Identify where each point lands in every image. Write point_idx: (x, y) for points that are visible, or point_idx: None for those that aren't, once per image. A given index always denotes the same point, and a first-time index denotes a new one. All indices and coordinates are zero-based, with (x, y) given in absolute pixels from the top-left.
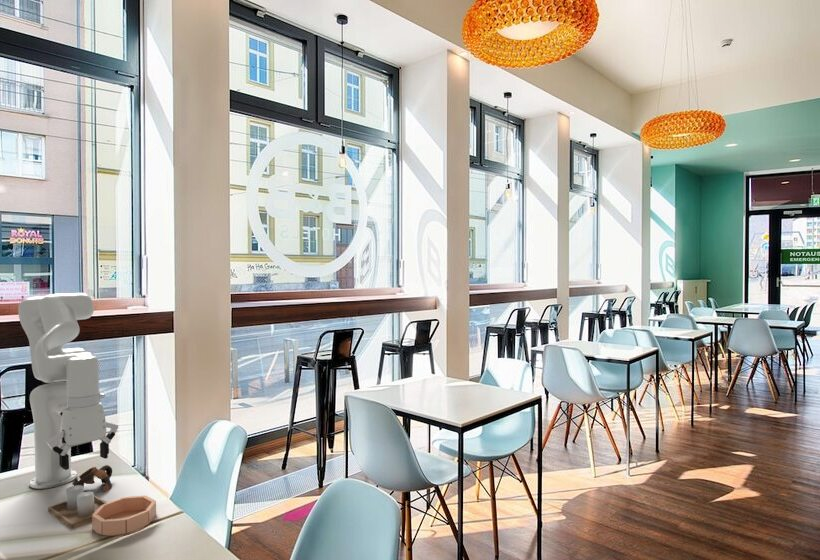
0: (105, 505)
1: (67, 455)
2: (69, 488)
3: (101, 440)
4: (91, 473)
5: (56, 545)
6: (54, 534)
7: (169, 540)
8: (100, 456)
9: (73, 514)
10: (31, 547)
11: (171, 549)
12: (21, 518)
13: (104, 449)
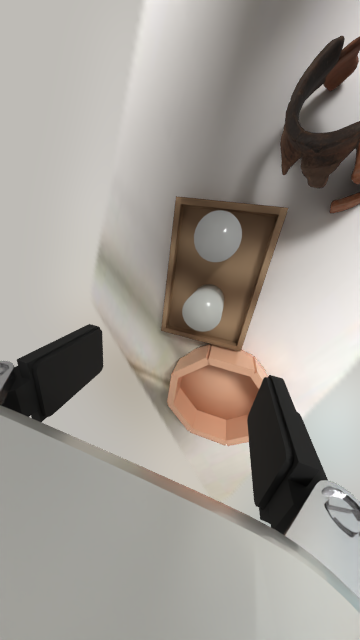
0: (210, 364)
1: (42, 418)
2: (209, 220)
3: (297, 514)
4: (352, 138)
5: (134, 342)
6: (146, 309)
7: (212, 457)
8: (264, 377)
9: (196, 275)
10: (113, 315)
11: (198, 466)
12: (139, 165)
13: (253, 469)
